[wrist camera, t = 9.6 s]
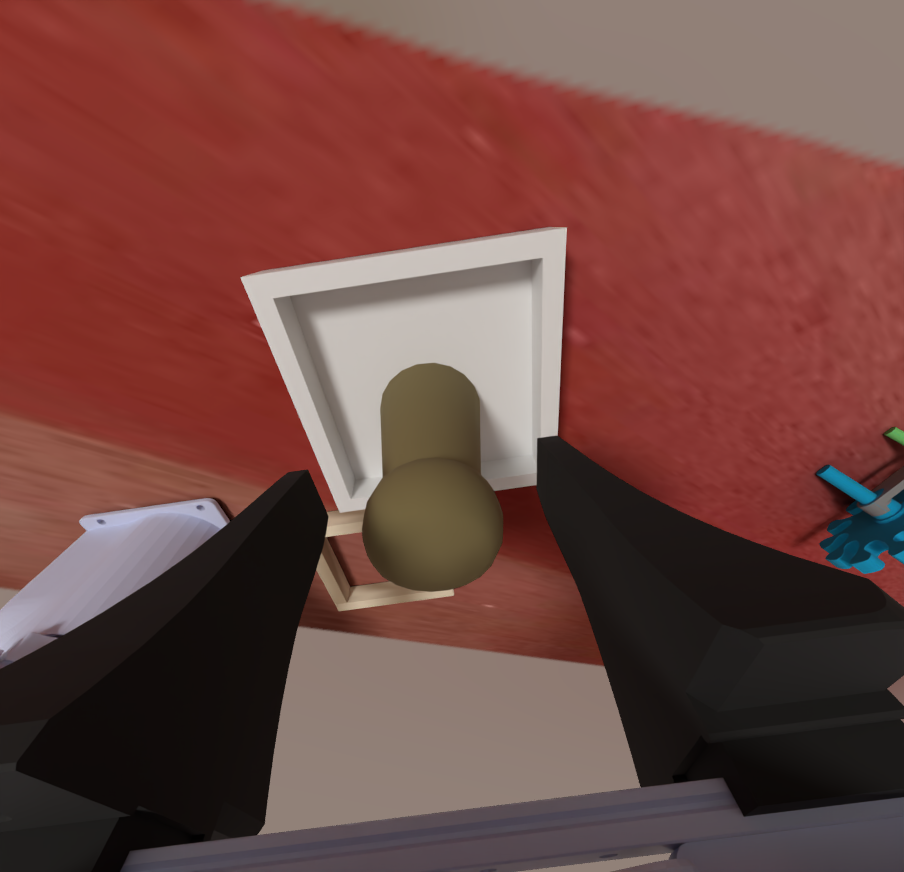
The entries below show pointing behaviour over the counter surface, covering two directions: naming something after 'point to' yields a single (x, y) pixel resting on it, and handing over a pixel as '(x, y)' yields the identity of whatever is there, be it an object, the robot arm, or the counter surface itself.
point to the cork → (431, 485)
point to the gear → (867, 519)
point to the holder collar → (362, 594)
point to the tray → (420, 346)
